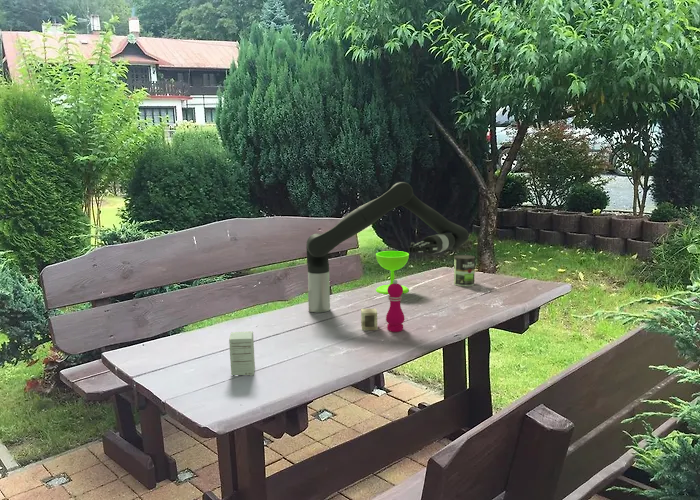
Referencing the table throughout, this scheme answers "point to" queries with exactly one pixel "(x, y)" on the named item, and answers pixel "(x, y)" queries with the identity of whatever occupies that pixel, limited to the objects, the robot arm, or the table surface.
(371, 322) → the pale yellow cube-like block
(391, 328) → the pepper mill
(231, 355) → the supplement box
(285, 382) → the table surface
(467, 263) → the coffee can
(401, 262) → the wineglass
